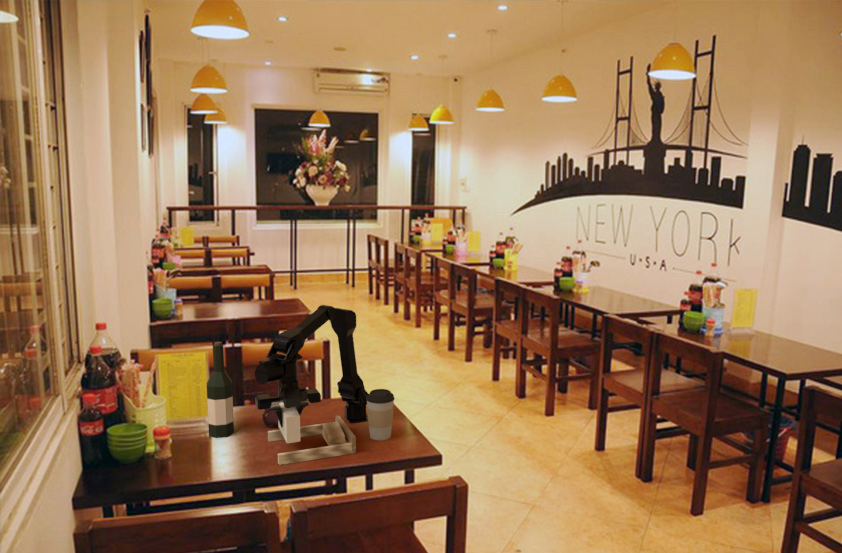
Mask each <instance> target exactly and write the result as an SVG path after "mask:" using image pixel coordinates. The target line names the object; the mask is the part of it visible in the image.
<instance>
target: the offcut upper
mask: <svg viewBox="0 0 842 553" xmlns="http://www.w3.org/2000/svg"><path fill="white" fill-rule="evenodd" d="M330 422H331V421H330ZM330 422H325V423H324V422H323V423H322V424H323V433H324V435H325V438H326V440H327V442H326V444H327V443H328V444H327V446H328V445H338V444H345V435H344V433H343V431H342V429H341V426H340V424H339V422H336V421H332V422H331V423H330Z"/></svg>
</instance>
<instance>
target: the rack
mask: <svg viewBox="0 0 842 553" xmlns="http://www.w3.org/2000/svg"><path fill="white" fill-rule="evenodd" d="M334 419H335V422H339V424H340V426H341V429H342V431H343V433H344V435H345V439H346V441H347V442H348V443H345V444H338V445H332V446H328V445H327V446H318V447H314V448H306V449H299V450H293V451H286V452H280V453H277V464H279V465H278V466H282V464H283V465H289V463H290V464H294V463H295V464H296V463H300V462H308V461H314V460H320V459H326V458H333V457H339V456H345V455H351V454H356V453H357V443H356V442H357V438H356V435H355V434H354V433H353V432H352V430H351V429H350V428H349V426H348V425H347V423H346V422H345V421H344V420H343V419H342V418H341V416H340V415H335V418H334ZM329 423H331V421H329ZM322 430H323V423H317V424H310V425H303V426H300V438H304V437H310V436H311V437H312V436H317V435H318V436H319V435H322ZM282 440H283V441H285V439H284V437H283V435H282V433H281V431H280V429H274V430H267V441H268V443H269V442H276V441H282Z"/></svg>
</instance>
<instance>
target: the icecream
mask: <svg viewBox="0 0 842 553" xmlns="http://www.w3.org/2000/svg"><path fill="white" fill-rule="evenodd" d="M261 420H262V422H263V425H264V426H265V427H267V428H268V427H269V428H271V429H273V428H276V427H279V426H278V417H277V415H276V412H275V411H274V410H270V408H269V409H264V410H263V413H262V415H261Z"/></svg>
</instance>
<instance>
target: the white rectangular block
mask: <svg viewBox="0 0 842 553" xmlns="http://www.w3.org/2000/svg"><path fill="white" fill-rule="evenodd" d="M279 405H280V407H281V415H282V422H283V427H281V425H280V423H279V420H278V426H277V427H278V430H280V431H281V433H282V435H283V437H284V441H285V443H286V444H291V443H299V442H301V437H300V427H301V415H299V413H298V411H297V410H296V408H295V407H290V408H285V407H284V403H283V402H281V403H279Z"/></svg>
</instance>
